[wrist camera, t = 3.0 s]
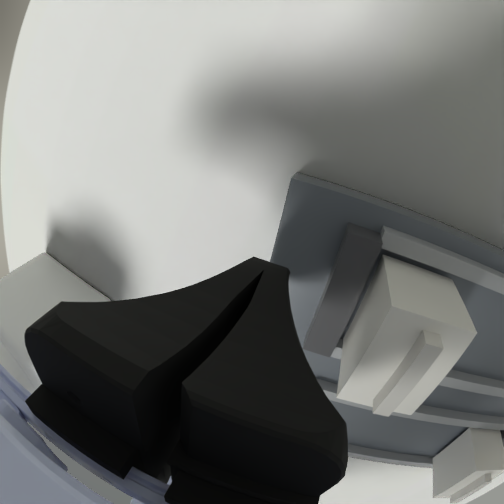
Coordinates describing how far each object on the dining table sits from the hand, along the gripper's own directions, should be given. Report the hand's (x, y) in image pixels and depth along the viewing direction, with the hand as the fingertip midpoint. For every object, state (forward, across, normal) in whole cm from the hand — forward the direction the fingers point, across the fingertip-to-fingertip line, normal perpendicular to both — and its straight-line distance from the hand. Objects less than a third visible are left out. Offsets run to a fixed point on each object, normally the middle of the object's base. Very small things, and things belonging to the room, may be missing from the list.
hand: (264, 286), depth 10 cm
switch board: (+3, -10, +4) cm, 11 cm away
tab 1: (+1, -5, 0) cm, 5 cm away
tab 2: (+1, -16, +8) cm, 17 cm away
